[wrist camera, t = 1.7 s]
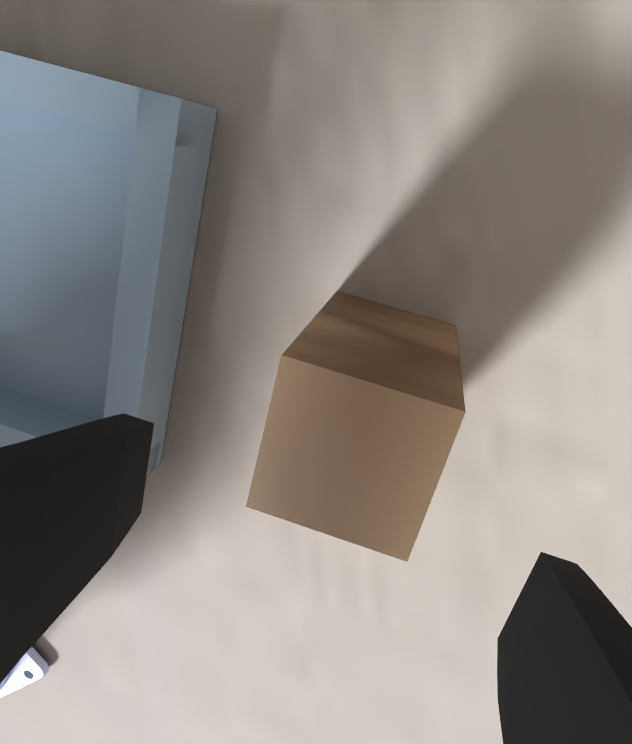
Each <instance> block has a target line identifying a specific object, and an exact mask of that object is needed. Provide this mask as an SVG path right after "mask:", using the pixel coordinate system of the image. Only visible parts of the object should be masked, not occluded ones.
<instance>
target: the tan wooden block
mask: <svg viewBox="0 0 632 744" xmlns="http://www.w3.org/2000/svg"><path fill="white" fill-rule="evenodd" d="M464 414H465V404H464V395H463V386H462V377H461V369H460V360H459V351H458V342H457V333H456V326H454V325H451V324H447V323H444V322H441V321H437V320H434V319H430V318H427V317H424V316H420V315H417V314H413V313H410V312H407V311H403V310H400V309H396V308H393V307H390V306H386V305H383V304H379V303H376V302H373V301H369V300H366V299H362V298H359V297H356V296H352V295H349V294H345V293H342V292H338V291H337V292H336V293H335V294H334V295H333V296H332V298H331V299H330V300H329V301H328V302H327V303H326V305H325V306H324V307H323V308H322V309H321V310H320V311H319V313H318V314H317V315H316V316H315V317H314V318H313V320H312V321H311V322H310V323H309V324H308V325H307V327H306V328H305V329H304V330H303V331H302V332H301V333H300V335H299V336H298V337H297V338H296V339H295V340H294V342H293V343H292V344H291V345H290V346H289V347H288V349H287V350H286V351H285V352H284V353H283V354H282V357H281V361H280V365H279V369H278V374H277V378H276V382H275V386H274V390H273V395H272V399H271V403H270V407H269V412H268V416H267V420H266V424H265V428H264V433H263V437H262V441H261V445H260V450H259V454H258V458H257V462H256V467H255V471H254V475H253V479H252V483H251V488H250V492H249V496H248V500H247V505H246V507H249V508H252V509H255V510H258V511H261V512H263V513H266V514H269V515H272V516H275V517H278V518H281V519H284V520H287V521H290V522H293V523H296V524H299V525H301V526H304V527H307V528H310V529H313V530H316V531H319V532H322V533H325V534H328V535H331V536H334V537H337V538H340V539H342V540H345V541H348V542H351V543H354V544H357V545H360V546H363V547H366V548H369V549H372V550H375V551H378V552H381V553H383V554H386V555H389V556H392V557H395V558H398V559H401V560H404V561H408V558H409V556H410V553H411V551H412V548H413V546H414V543H415V540H416V538H417V535H418V533H419V530H420V528H421V525H422V522H423V520H424V517H425V515H426V512H427V510H428V507H429V504H430V502H431V499H432V497H433V494H434V491H435V489H436V486H437V484H438V481H439V479H440V476H441V473H442V471H443V468H444V466H445V463H446V461H447V458H448V455H449V453H450V450H451V448H452V445H453V443H454V440H455V437H456V435H457V432H458V430H459V427H460V425H461V422H462V419H463V417H464Z"/></svg>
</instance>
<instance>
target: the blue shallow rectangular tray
mask: <svg viewBox="0 0 632 744" xmlns="http://www.w3.org/2000/svg"><path fill="white" fill-rule="evenodd" d="M216 115H217V109H216V108H212V107H209V106H206V105H202V104H199V103H196V102H192V101H189V100H185V99H182V98H178V97H174V96H171V95H167V94H163V93H159V92H155V91H152V90H148V89H144V88H140V87H137V86H133V85H129V84H125V83H121V82H118V81H114V80H110V79H106V78H102V77H99V76H95V75H91V74H87V73H83V72H80V71H76V70H72V69H68V68H64V67H61V66H57V65H53V64H49V63H46V62H42V61H38V60H34V59H30V58H27V57H23V56H19V55H15V54H11V53H8V52H4V51H0V447H3V446H7V445H11V444H15V443H19V442H23V441H26V440H29V439H33V438H36V437H40V436H43V435H47V434H50V433H54V432H57V431H61V430H64V429H68V428H71V427H74V426H78V425H81V424H85V423H88V422H91V421H95V420H99V419H102V418H106V417H110V416H114V415H119V414H124V413H125V414H128V415H131V416H134V417H137V418H140V419H143V420H146V421H149V422H152V423H154V429H153V435H152V442H151V449H150V455H149V462H148V469H147V475H146V477H147V476H148V475H149V474H150V473H151V472H152V471H153V470H154V469H155V468H156V466H157V465H158V464H159V463H160V462H161V458H162V452H163V445H164V439H165V433H166V427H167V421H168V414H169V408H170V402H171V396H172V389H173V383H174V377H175V371H176V364H177V358H178V352H179V346H180V339H181V333H182V327H183V321H184V315H185V308H186V302H187V296H188V290H189V283H190V277H191V271H192V265H193V258H194V252H195V246H196V240H197V233H198V227H199V221H200V215H201V209H202V202H203V196H204V190H205V184H206V177H207V171H208V165H209V159H210V152H211V146H212V140H213V134H214V127H215V121H216Z"/></svg>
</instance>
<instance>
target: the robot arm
mask: <svg viewBox="0 0 632 744" xmlns="http://www.w3.org/2000/svg"><path fill="white" fill-rule="evenodd" d="M153 429H154V423H152V422H149V421H146V420H143V419H140V418H137V417H134V416H131V415H128V414H125V413H124V414H119V415H114V416H110V417H106V418H102V419H99V420H95V421H91V422H88V423H85V424H81V425H78V426H74V427H71V428H68V429H64V430H61V431H57V432H54V433H50V434H47V435H43V436H40V437H36V438H33V439H29V440H26V441H23V442H19V443H15V444H11V445H7V446H3V447H0V699H1V698H3V697H5V696H7V695H9V694H11V693H13V692H15V691H17V690H19V689H21V688H23V687H25V686H27V685H29V684H31V683H33V682H35V681H37V680H40V679H42V678H43V677H44V676H45V675H46V674H47V672H48V670H49V667H48V664H47V663H46V661H45V660H44V659H43V658H42V657H41V656H40V655H39V654H38V652H37V651H36V650H35V649H34V648H33V647H32V646H33V644H34V643H35V642H36V641H37V640H38V639H39V638H40V637H41V635H42V634H43V633H44V632H45V631H46V630H47V629H48V628H49V626H50V625H51V624H52V623H53V622H54V621H55V620H56V619H57V618H58V616H59V615H60V614H61V613H62V612H63V611H64V610H65V609H66V607H67V606H68V605H69V604H70V603H71V602H72V601H73V600H74V598H75V597H76V596H77V595H78V594H79V593H80V592H81V591H82V590H83V588H84V587H85V586H86V585H87V584H88V583H89V582H90V580H91V579H92V578H93V577H94V576H95V575H96V574H97V572H98V571H99V570H100V569H101V568H102V567H103V566H104V564H105V563H106V562H107V561H108V560H109V559H110V557H111V556H112V555H113V553H114V552H115V550H116V549H117V548H118V546H119V545H120V543H121V542H122V540H123V539H124V538H125V536H126V535H127V533H128V532H129V530H130V529H131V527H132V525H133V524H134V522H135V521H136V519H137V518H138V516H139V515H140V513H141V509H142V502H143V495H144V489H145V482H146V475H147V469H148V462H149V455H150V449H151V442H152V435H153ZM497 679H498V704H499V713H500V721H501V729H502V737H503V744H632V627H631V626H630V625H629V624H628V623H627V621H626V620H625V619H624V618H623V617H622V615H621V614H620V613H619V612H618V611H617V609H616V608H615V607H614V606H613V604H612V603H611V602H610V601H609V600H608V598H607V597H606V596H605V595H604V594H603V592H602V591H601V590H600V589H599V588H598V587H597V585H596V584H595V583H594V582H593V581H592V580H591V578H590V577H589V576H588V575H587V574H586V573H585V572H584V571H583V570H582V569H581V568H580V567H579V566H578V565H577V564H576V563H573V562H570V561H567V560H564V559H561V558H558V557H555V556H552V555H549V554H546V553H543V552H541V553H540V555H539V557H538V559H537V561H536V563H535V565H534V567H533V569H532V571H531V573H530V575H529V577H528V579H527V581H526V583H525V585H524V587H523V589H522V591H521V593H520V595H519V597H518V599H517V601H516V603H515V605H514V607H513V609H512V611H511V613H510V615H509V617H508V619H507V621H506V623H505V625H504V627H503V629H502V631H501V633H500V635H499V637H498V661H497Z"/></svg>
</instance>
